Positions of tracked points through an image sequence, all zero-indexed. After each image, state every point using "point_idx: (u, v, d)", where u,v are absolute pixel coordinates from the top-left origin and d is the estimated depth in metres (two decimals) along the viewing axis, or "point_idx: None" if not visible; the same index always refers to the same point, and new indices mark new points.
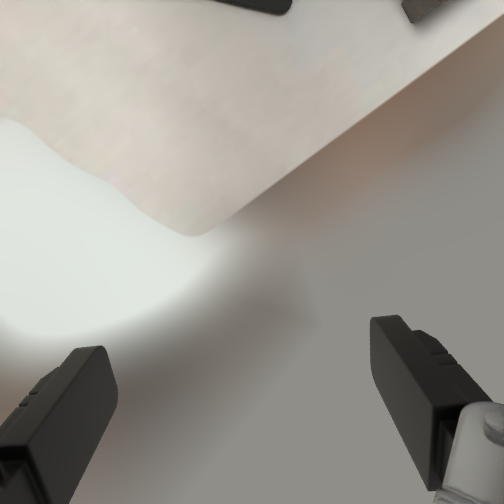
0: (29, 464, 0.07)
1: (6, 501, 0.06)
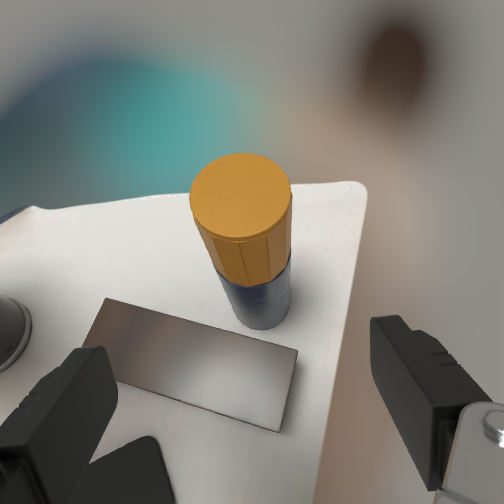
0: (29, 464, 0.07)
1: (6, 501, 0.06)
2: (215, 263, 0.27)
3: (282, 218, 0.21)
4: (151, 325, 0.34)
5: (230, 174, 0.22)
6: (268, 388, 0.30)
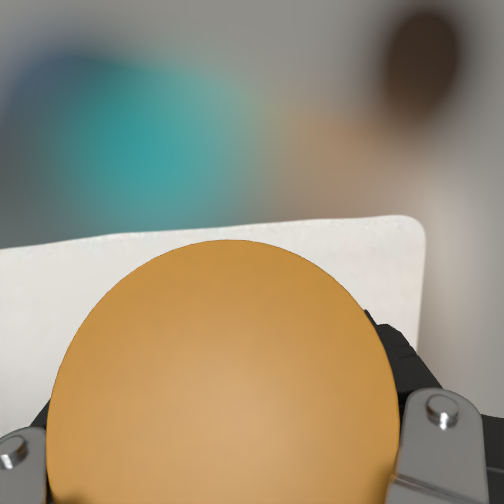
0: None
1: None
2: None
3: None
4: None
5: (190, 316, 0.07)
6: None
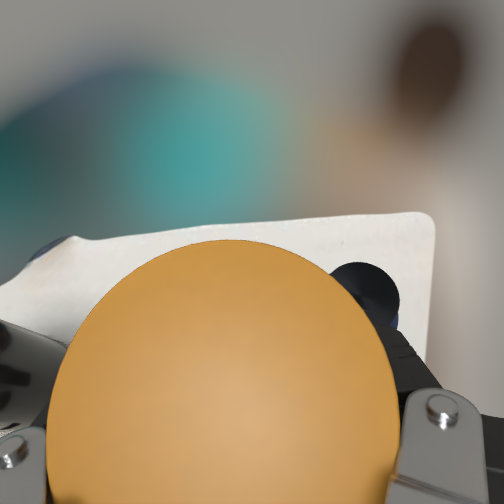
0: None
1: None
2: None
3: None
4: None
5: (190, 317, 0.07)
6: None
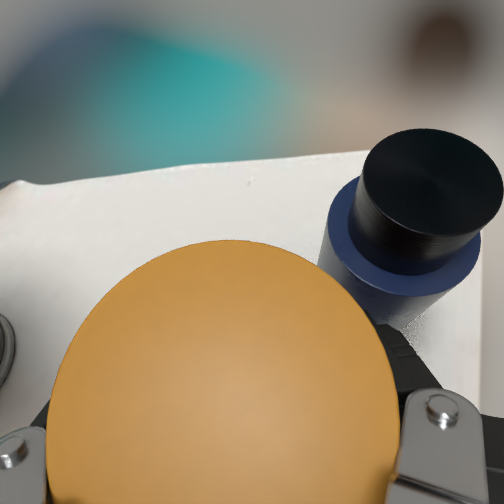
0: None
1: None
2: None
3: None
4: None
5: (190, 317, 0.07)
6: None
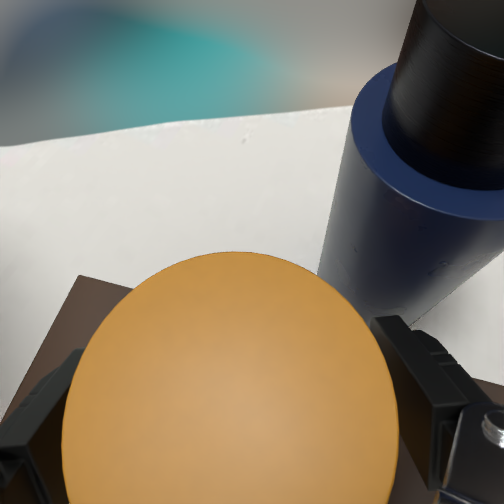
0: (29, 464, 0.07)
1: (6, 501, 0.06)
2: None
3: None
4: None
5: (198, 326, 0.07)
6: None
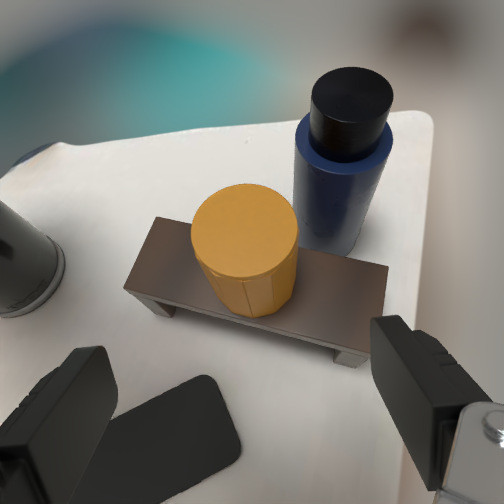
0: (29, 464, 0.07)
1: (6, 501, 0.06)
2: (217, 294, 0.25)
3: (289, 256, 0.20)
4: None
5: (233, 207, 0.21)
6: (357, 307, 0.26)
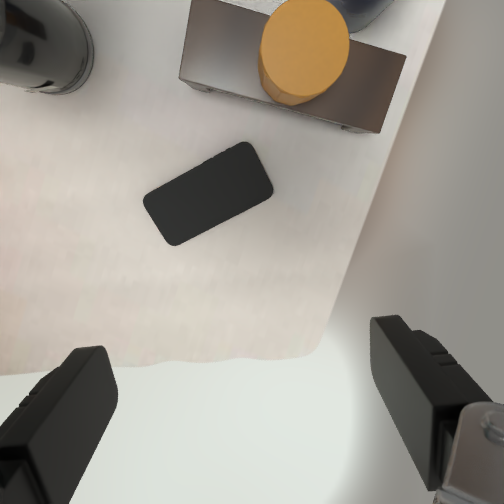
0: (29, 464, 0.07)
1: (6, 501, 0.06)
2: (266, 89, 0.31)
3: (339, 75, 0.26)
4: (253, 29, 0.31)
5: (296, 25, 0.24)
6: (373, 95, 0.33)
